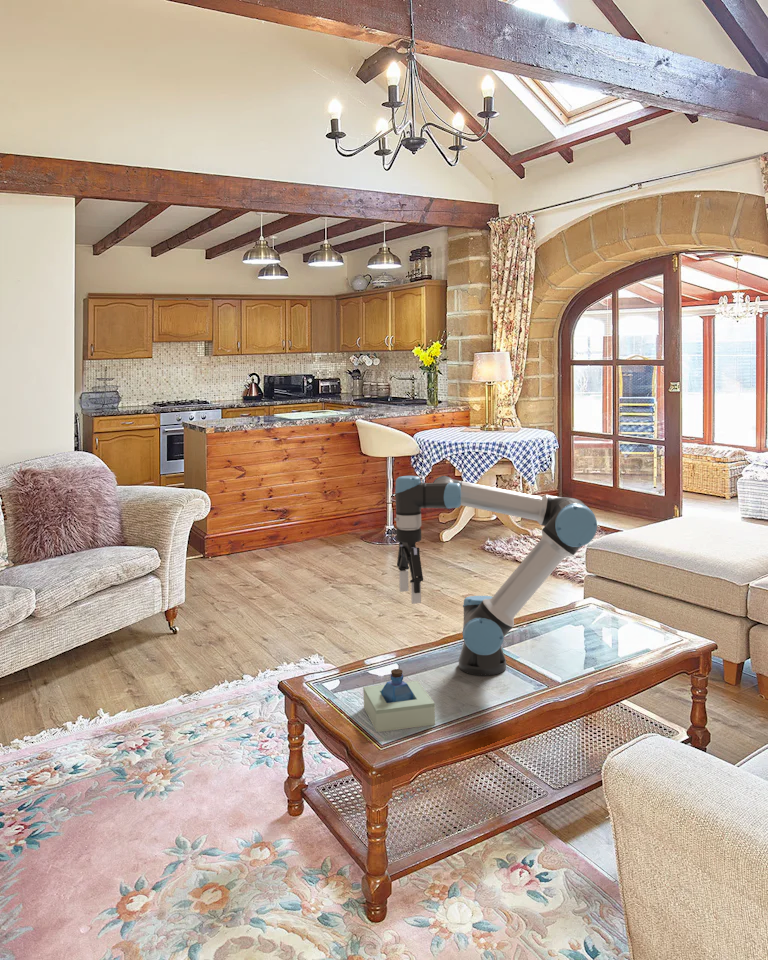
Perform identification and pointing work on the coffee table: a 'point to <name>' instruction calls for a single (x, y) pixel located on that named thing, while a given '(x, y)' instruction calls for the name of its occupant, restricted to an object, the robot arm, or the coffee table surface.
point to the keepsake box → (399, 709)
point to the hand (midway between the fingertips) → (410, 597)
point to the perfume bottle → (396, 688)
